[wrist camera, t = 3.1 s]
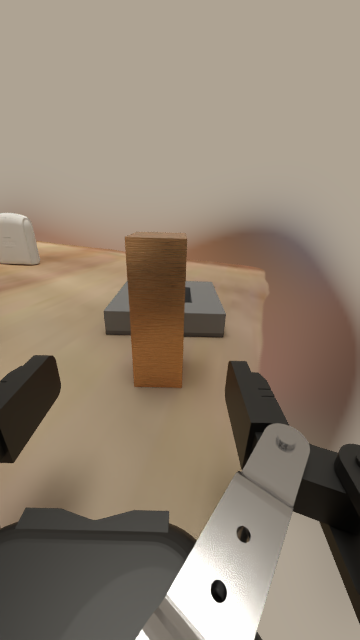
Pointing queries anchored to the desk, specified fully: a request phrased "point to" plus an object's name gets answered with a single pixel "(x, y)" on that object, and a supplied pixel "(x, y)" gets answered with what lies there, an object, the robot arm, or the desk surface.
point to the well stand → (199, 312)
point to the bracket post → (156, 306)
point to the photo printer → (17, 240)
